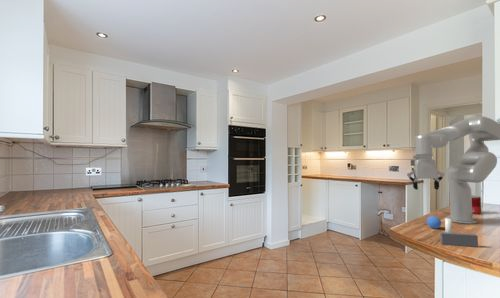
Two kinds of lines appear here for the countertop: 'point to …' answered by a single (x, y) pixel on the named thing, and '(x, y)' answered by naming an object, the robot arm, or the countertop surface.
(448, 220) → the pin
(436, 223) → the ball
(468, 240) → the block
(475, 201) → the canned food
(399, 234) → the countertop surface
